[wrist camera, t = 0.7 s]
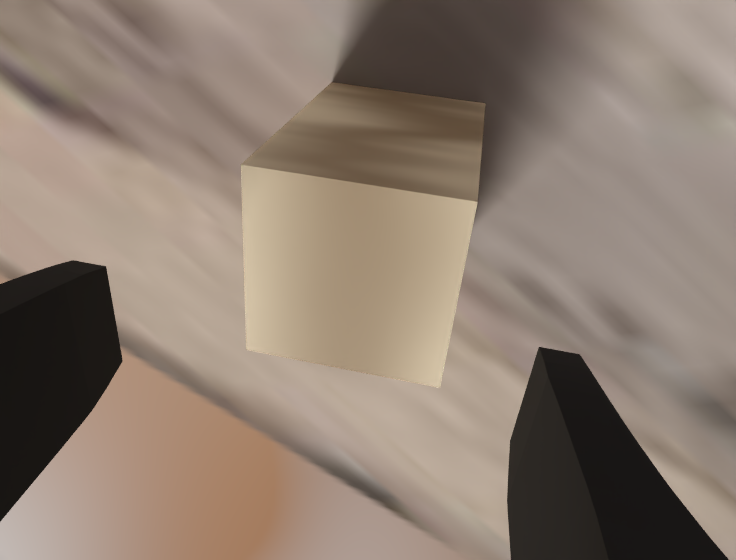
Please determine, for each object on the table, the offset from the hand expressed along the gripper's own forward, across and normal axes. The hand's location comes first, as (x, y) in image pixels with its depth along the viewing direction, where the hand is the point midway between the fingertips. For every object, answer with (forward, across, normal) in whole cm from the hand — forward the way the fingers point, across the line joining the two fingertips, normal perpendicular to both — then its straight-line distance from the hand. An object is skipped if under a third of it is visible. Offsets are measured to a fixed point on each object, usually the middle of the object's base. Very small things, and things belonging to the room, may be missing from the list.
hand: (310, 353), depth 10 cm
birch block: (+9, 0, 0) cm, 9 cm away
